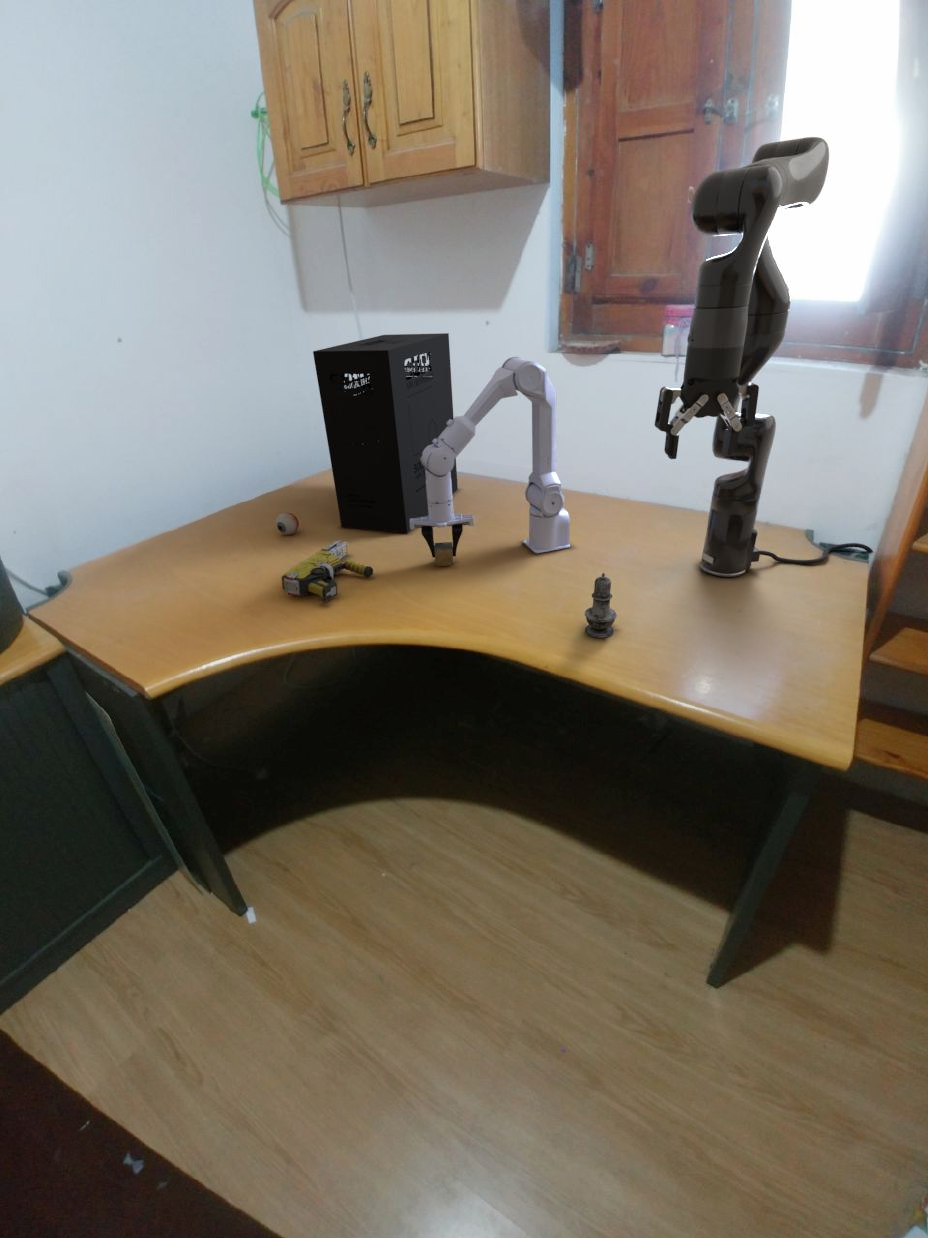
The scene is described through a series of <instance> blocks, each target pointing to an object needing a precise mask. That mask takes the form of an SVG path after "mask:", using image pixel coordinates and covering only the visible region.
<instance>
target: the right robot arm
mask: <svg viewBox="0 0 928 1238" xmlns="http://www.w3.org/2000/svg"><path fill="white" fill-rule="evenodd" d="M829 160H830V147H829V144H828V142H827V141H826V140H825V139H824V138H822V137H818V136H808V137H801V138H794V139H793V138H792V139H787V140H781V141H773V142H768V143H764V144H762V145H760V146H759V147H758V148H757V150H756V151H755V153H754V155H753V158H752V160H751V163H749V164H748V165H745V166H742V167H738V168H729V169H721V170H718V171H717V170H715V171H712V172H710V173H708V175H706V176H705V177H704V178H703V179H702V180H701V181H700V183H699V184H698V186H697V187H696V189H695V191H694V194H693V196H692V199H691V204H690V218H691V222H692V225H693V227H694V228H695V230H696V231H697V232H698V233H700V234H701V235H703V236H705V237H718V236H728V235H729V236H731V235H742V236H741V239H740V241H739V243H738V244H737V246H736V247H735V248H734V249H732V251H730V252H728V253H725V254H721V255H717V256H713V257H711V258H708V259H706V260H704V261H703V262H701V264H700V266H699V269H698V275H697V281H696V287H695V288H696V289H695V297H694V305H693V306H694V307H693V311H692V316H691V319H690V323H689V328H688V329H689V331H688V335H687V346H686V353H685V360H684V361H685V362H684V371H683V381H682V384H681V386H680V388H669V387H667V386H662V387H661V388H660V390H659V395H658V400H657V401H658V402H657V407H656V415H655V418H654V419H655V420H654V427H655V428H657V430H659V431H660V432H664V433H665V441H664V453H665V454H666V456H667V457H668V458H669V459H670V460H677V456H678V450H679V449H678V448H679V440H680V434H679V432H680V431H681V430H682V429H683V428H684V426H685V425H686V424H688V423H690V422H691V420H692V419H693V418H694V417H695V418H697V419H701V418H706V417H712V418H716V419H715V424H714V429H713V435H712V443H711V450H712V455H713V456H714V457H715V458H716V459H718V460H725V461H732V462H733V461H734V462H741V463H748V464H747V467H745V468H744V469H741V470H739V471H735V472H730V473H726V474H722V475H719V476H717V478H715V480H714V482H713V487H712V492H711V499H710V505H709V512H708V517H707V525H706V531H705V537H704V544H703V549H702V553H701V561H700V564H699V565H700V570H702V571H703V572H705V573H706V574H709V575H712V576H716V577H720V578H735V577H736V578H737V577H740V576H742V575H744V574H745V573H750V571H751V565H752V563H756V562H759V561H760V556H765V557H770V558H772V560H774V561H775V562H779V563H785V564H793V565H815V564H819V563H823V562H824V561H826V560H827V559H828V556H829V552H832V551H834V550H840V549H846V548H860V549H863V550H865V551H866V552H867V553H871V554H872V553H874V550H873V549H872V548H871V547H870V546H868V545H866V544H864V543H859V542H848V543H840V544H835V545H830V546H827V547H826V548H824V550H823V553H822V556H821V557H817V558H814V559H791V558H785V557H780V556H778V555H777V554H775V553H774V552H771V551H767V550H761V549H759V548H757V547H756V542H757V537H758V531H757V529H755V525H756V520H757V515H758V509H759V505H760V501H761V495H762V489H763V485H764V481H765V475H766V471H767V467H768V463H769V459H770V455H771V451H772V447H773V444H774V441H775V436H776V430H777V422H776V418H775V416H773V415H771V414H766V413H757V408H758V400H759V391H760V387H759V386H760V385H758V384H756V383H754V382H752V381H753V380H754V379H755V377H756V375H757V374H758V373H759V372H760V371H761V370H762V369H763V368H764V367H765V365H766V364H767V363H768V362H769V361H770V359H771V358H772V357H773V356H774V354H775V353H776V352H777V350H778V349H779V347H780V346H781V345H782V342H783V341H784V337H785V334H786V330H787V329H786V328H787V324H788V318H789V314H790V307H791V299H792V298H791V292H790V289H789V287H788V284H787V282H786V279H785V276H784V274H783V272H782V271H781V269H780V267H779V264H778V262H777V260H776V258H775V255H774V252H773V249H772V245H771V243H770V237H769V232H770V230H771V227H772V224H773V223H774V220H775V218H776V216H777V214H778V211H788V210H796V209H801V208H805V207H808V206H810V205H812V204H813V203H814V202H815V201H816V200H817V199H818V197H819V196H820V194H821V193H822V190H823V188H824V185H825V182H826V178H827V176H828V175H827V174H828V169H829ZM678 398H679V399H680V401H681V402H682V404H681V405H680V406H679V408H678V409H677V410H676V412H675V413H674V416H673V417H672V418H671V419H670V414H671V409H672V405H673V404H675V402H676V401H677V399H678ZM740 403H741V405H740V407H741V408H740V411H738V408H739V404H740ZM669 420H670V421H669Z"/></svg>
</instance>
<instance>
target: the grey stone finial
mask: <svg viewBox="0 0 928 1238" xmlns="http://www.w3.org/2000/svg"><path fill="white" fill-rule="evenodd" d="M611 587H612V580H611V579H610V578H609V577H607V576H606V573H605V572H603V573H601V576H598V577H596V578H595V580H594V587H593V593H591V598H592V606H590V607H589V608H587V609H585V611H584V613H583V614H584V617H585V621H586V622H587V625H586V626H585V628H584V629H585V630H584V631H585V633H586V634H587V635H589V636H590V637H593V638H598V639H600V638H602V639H603V638H608V637H610V636H612V635H613V634H614V632H615V630H614V628H613V627H612V625H613V624H614V623H615V620H616V619H617V616H618V614H617V612H616V611H615V610H614V609H613V608H612V607H611V604H610V603H611V599H613V595H612V594H611V589H612V588H611Z"/></svg>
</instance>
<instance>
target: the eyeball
mask: <svg viewBox="0 0 928 1238" xmlns="http://www.w3.org/2000/svg"><path fill="white" fill-rule="evenodd" d="M299 525H300V522H299V519H298V517H297V516H296V515H295V514H294V513H292V512H287V511H286V512H282V513H280V514H279V515H278V516H277V517H276V520H275V527H276V529H277V530H278V531H279V532H280V533H281V534H282V535H285V536H286V535H287V536H289V535H293V534H295V533H296V532H297V531H298V529H299Z"/></svg>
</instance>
